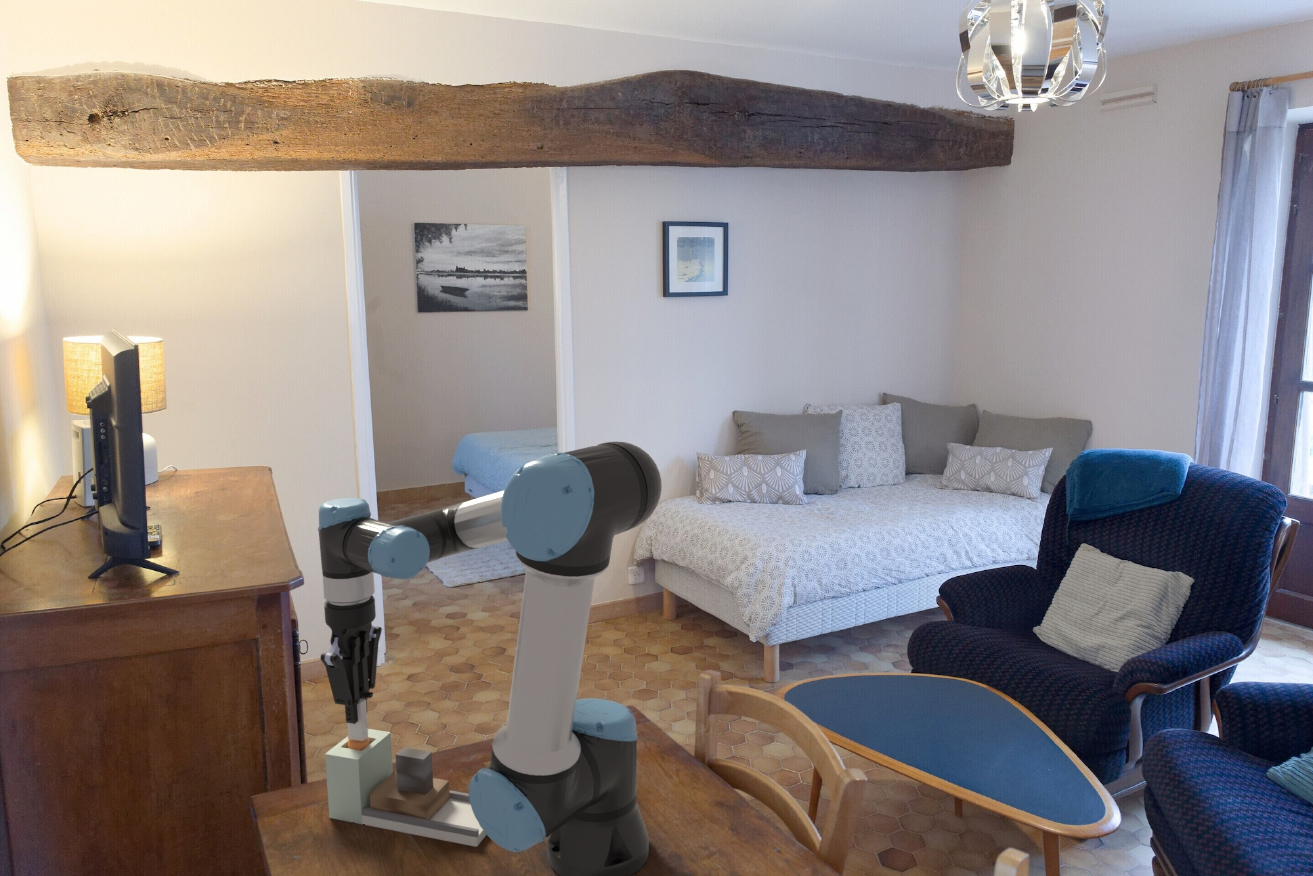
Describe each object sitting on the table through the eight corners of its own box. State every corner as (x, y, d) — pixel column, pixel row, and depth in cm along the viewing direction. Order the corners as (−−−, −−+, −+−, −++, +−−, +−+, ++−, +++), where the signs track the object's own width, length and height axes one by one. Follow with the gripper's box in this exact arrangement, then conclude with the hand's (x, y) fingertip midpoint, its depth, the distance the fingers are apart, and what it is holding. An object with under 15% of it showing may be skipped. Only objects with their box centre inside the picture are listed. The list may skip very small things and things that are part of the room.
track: (503, 813, 147) (503, 799, 147) (476, 846, 139) (476, 831, 138) (394, 793, 153) (393, 779, 153) (362, 824, 145) (361, 809, 144)
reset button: (373, 750, 149) (372, 736, 149) (361, 759, 146) (361, 745, 146) (356, 747, 150) (355, 733, 150) (344, 756, 147) (343, 743, 147)
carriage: (449, 797, 149) (447, 746, 147) (427, 822, 142) (424, 768, 141) (395, 787, 152) (392, 737, 150) (370, 811, 145) (367, 758, 143)
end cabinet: (394, 793, 153) (390, 732, 151) (362, 824, 145) (358, 759, 143) (362, 788, 155) (359, 727, 153) (329, 817, 146) (324, 753, 144)
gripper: (353, 582, 151) (361, 716, 155) (301, 609, 138) (312, 754, 143) (393, 586, 149) (401, 722, 153) (344, 614, 136) (353, 762, 140)
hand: (358, 737), depth 148 cm, fingers closed
